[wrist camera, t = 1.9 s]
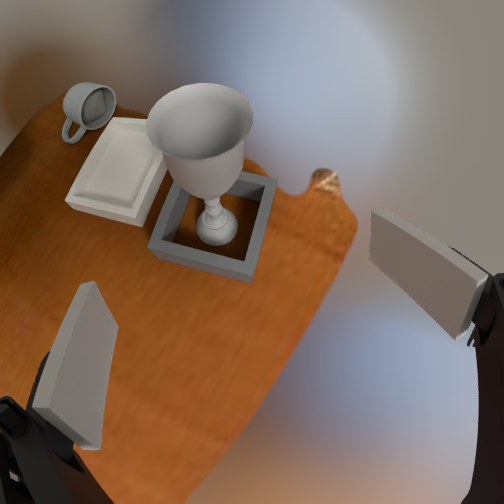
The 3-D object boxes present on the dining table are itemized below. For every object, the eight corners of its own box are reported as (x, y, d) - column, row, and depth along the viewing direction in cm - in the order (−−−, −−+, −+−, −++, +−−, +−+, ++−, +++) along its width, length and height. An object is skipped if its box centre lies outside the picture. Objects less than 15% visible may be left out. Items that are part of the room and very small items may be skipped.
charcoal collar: (157, 258, 31) (147, 247, 27) (188, 177, 34) (183, 159, 31) (251, 283, 31) (253, 276, 27) (273, 196, 34) (277, 179, 30)
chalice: (180, 210, 33) (138, 101, 16) (231, 191, 34) (228, 74, 17) (200, 263, 31) (159, 177, 14) (255, 242, 32) (273, 139, 15)
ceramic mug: (97, 99, 40) (83, 71, 32) (122, 108, 39) (108, 77, 31) (58, 139, 37) (39, 113, 29) (80, 152, 36) (59, 124, 28)
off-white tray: (74, 209, 32) (64, 200, 30) (118, 128, 37) (113, 117, 34) (142, 227, 32) (135, 218, 29) (184, 135, 37) (181, 123, 34)
